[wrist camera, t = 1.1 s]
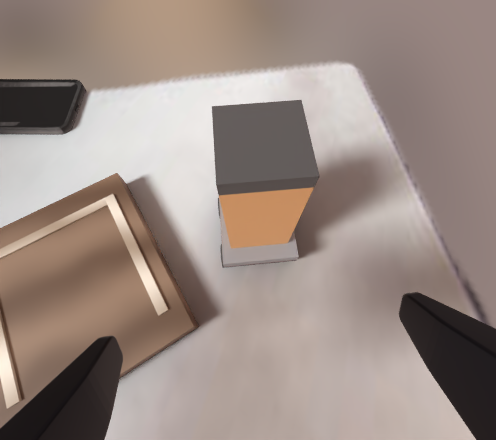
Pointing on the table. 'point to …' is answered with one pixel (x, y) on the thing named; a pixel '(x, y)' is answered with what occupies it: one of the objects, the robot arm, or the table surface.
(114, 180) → the dock
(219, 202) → the grey-topped tan box
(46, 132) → the phone
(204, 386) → the table surface
